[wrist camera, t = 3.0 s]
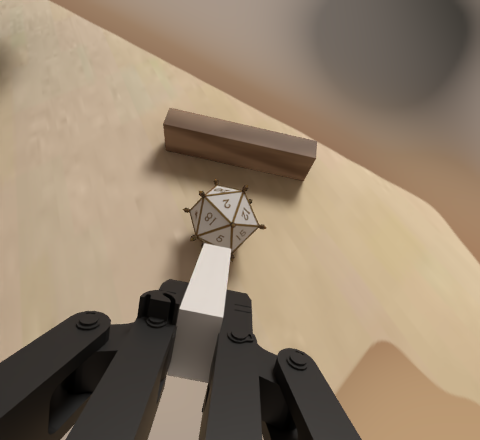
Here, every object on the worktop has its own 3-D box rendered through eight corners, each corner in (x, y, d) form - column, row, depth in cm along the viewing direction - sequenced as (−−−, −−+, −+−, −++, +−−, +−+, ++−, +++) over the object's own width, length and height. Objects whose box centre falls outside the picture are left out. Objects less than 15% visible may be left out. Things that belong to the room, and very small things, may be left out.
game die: (203, 246, 41) (154, 201, 34) (248, 202, 42) (209, 150, 35) (237, 287, 35) (185, 241, 28) (291, 234, 35) (252, 177, 29)
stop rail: (171, 135, 45) (169, 107, 40) (304, 164, 46) (316, 141, 41) (165, 150, 43) (163, 123, 39) (303, 180, 44) (315, 158, 40)
